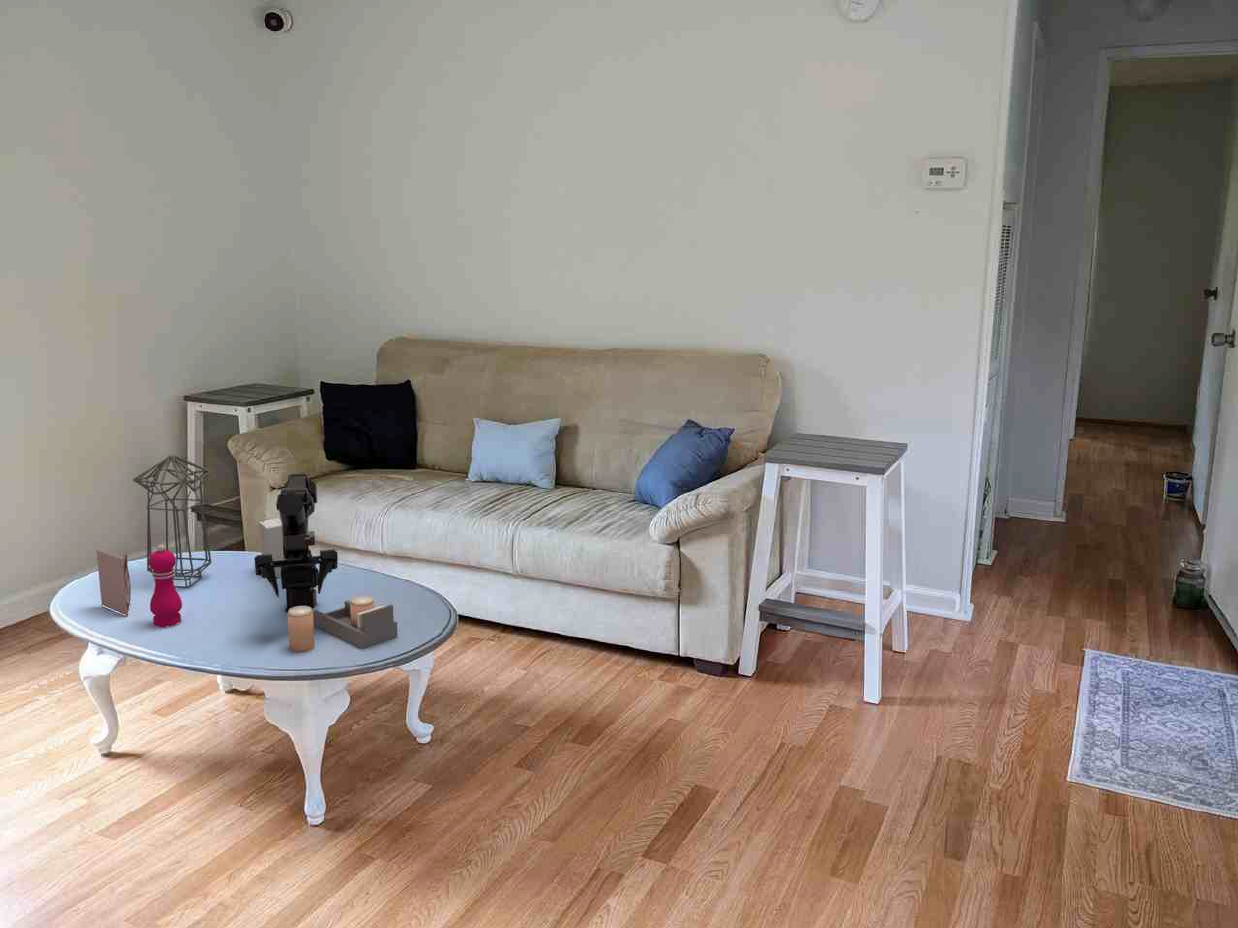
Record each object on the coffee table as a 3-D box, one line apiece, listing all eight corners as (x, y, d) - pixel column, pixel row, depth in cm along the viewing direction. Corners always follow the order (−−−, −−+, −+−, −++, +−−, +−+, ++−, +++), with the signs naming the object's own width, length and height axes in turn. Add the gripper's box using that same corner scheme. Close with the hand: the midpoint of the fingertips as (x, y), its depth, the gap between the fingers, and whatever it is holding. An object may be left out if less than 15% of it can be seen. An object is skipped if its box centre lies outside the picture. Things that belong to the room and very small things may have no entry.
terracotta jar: (286, 654, 243) (283, 613, 241) (294, 645, 248) (291, 604, 246) (310, 655, 243) (308, 614, 240) (317, 645, 248) (315, 605, 246)
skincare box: (291, 576, 293) (288, 524, 290) (269, 579, 290) (266, 527, 287) (282, 567, 300) (279, 516, 297) (260, 570, 297) (257, 519, 293)
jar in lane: (348, 638, 250) (347, 603, 248) (354, 629, 256) (353, 594, 254) (372, 639, 250) (370, 603, 248) (377, 630, 256) (376, 595, 254)
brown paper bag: (131, 616, 263) (126, 559, 259) (98, 619, 260) (92, 561, 257) (134, 600, 273) (129, 545, 270) (102, 603, 271) (97, 547, 267)
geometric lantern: (138, 590, 281) (126, 460, 273) (170, 571, 296) (160, 448, 288) (194, 593, 278) (184, 463, 271) (223, 574, 294) (215, 450, 286)
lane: (313, 628, 258) (311, 593, 256) (348, 617, 265) (347, 583, 263) (362, 651, 245) (360, 615, 243) (397, 639, 253) (396, 604, 251)
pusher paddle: (358, 641, 248) (357, 613, 247) (384, 632, 254) (383, 605, 252) (363, 644, 247) (362, 616, 245) (389, 635, 252) (389, 607, 251)
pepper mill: (190, 619, 262) (183, 542, 257) (168, 630, 255) (162, 551, 250) (166, 615, 264) (159, 538, 259) (144, 625, 257) (137, 547, 253)
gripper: (252, 522, 246) (255, 583, 238) (335, 517, 252) (340, 576, 244) (254, 544, 255) (257, 604, 247) (334, 538, 261) (339, 596, 253)
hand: (298, 594), depth 248 cm, fingers open, 9 cm apart
